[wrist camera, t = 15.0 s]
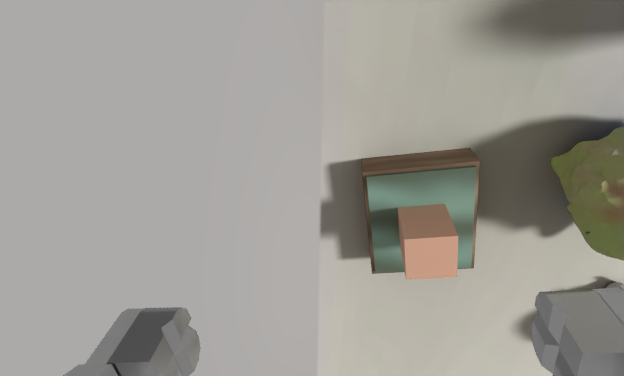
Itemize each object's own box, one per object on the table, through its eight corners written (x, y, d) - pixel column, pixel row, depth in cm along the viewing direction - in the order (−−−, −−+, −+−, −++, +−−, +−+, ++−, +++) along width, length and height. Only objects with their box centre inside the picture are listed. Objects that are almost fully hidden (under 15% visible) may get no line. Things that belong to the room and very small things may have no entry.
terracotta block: (397, 207, 42) (404, 239, 37) (444, 203, 41) (458, 235, 36) (399, 244, 44) (406, 279, 39) (444, 241, 43) (457, 276, 38)
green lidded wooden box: (361, 158, 44) (362, 174, 40) (470, 148, 42) (480, 162, 39) (370, 255, 50) (372, 275, 47) (465, 249, 49) (474, 270, 45)
